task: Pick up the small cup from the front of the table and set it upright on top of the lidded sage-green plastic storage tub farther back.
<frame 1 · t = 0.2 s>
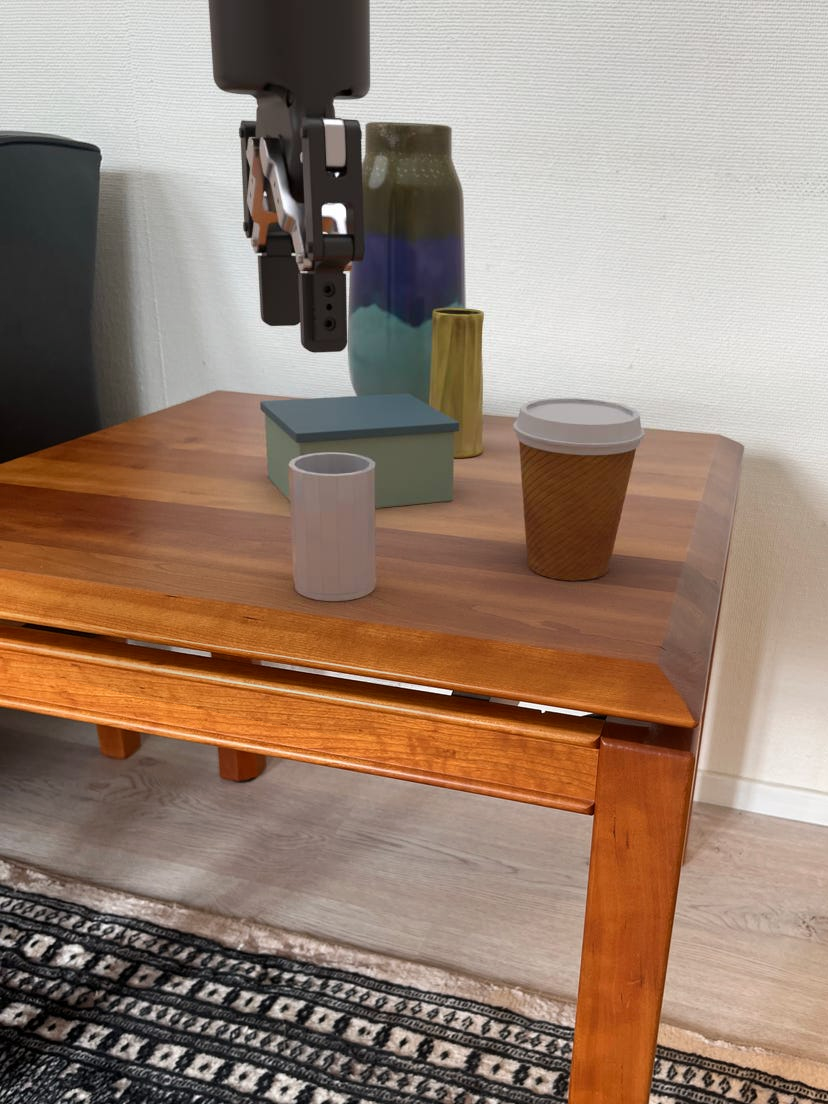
hand: (301, 337, 55), 19 cm above the table, tool pointing down, fingers open, 8 cm apart
disposable coffee cup: (567, 568, 79), on the table
vase: (454, 452, 108), on the table
cup: (335, 585, 73), on the table
container: (358, 488, 95), on the table
vase 2: (406, 416, 123), on the table
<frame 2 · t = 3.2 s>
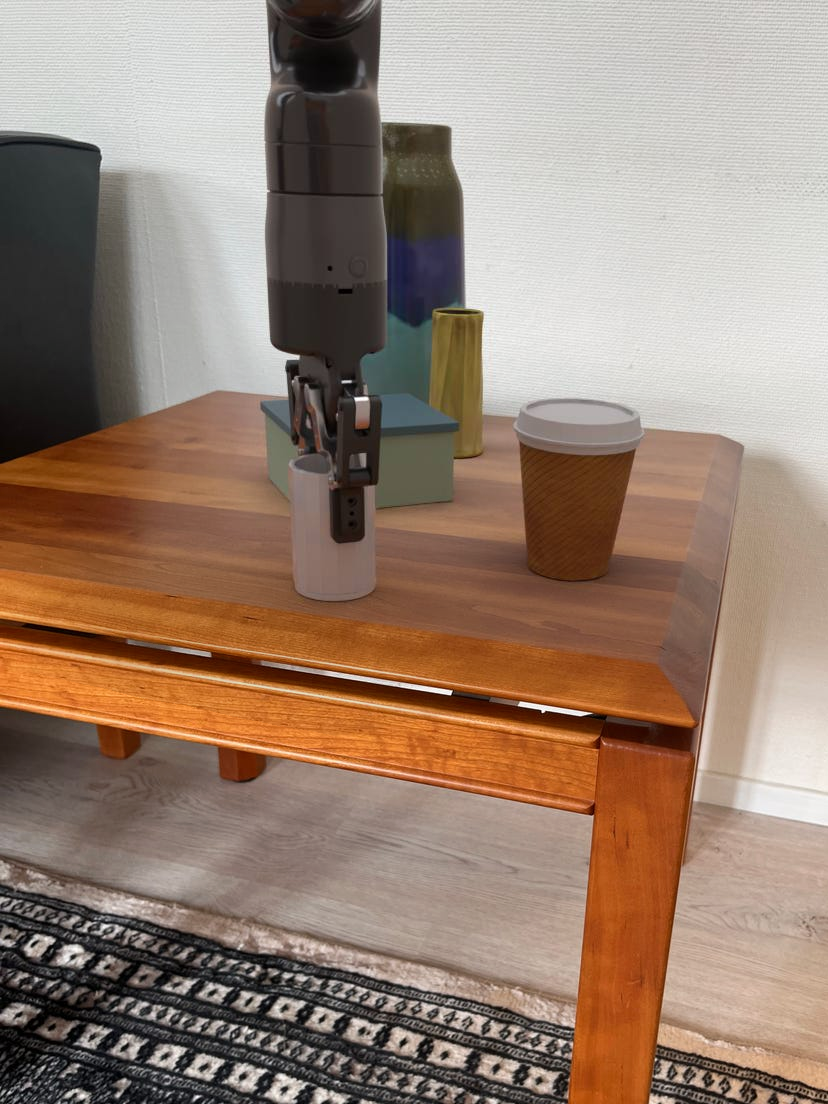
hand: (333, 525, 71), 5 cm above the table, tool pointing down, fingers closed on cup, 6 cm apart
cup: (335, 585, 73), on the table, touching gripper
everything else where it was.
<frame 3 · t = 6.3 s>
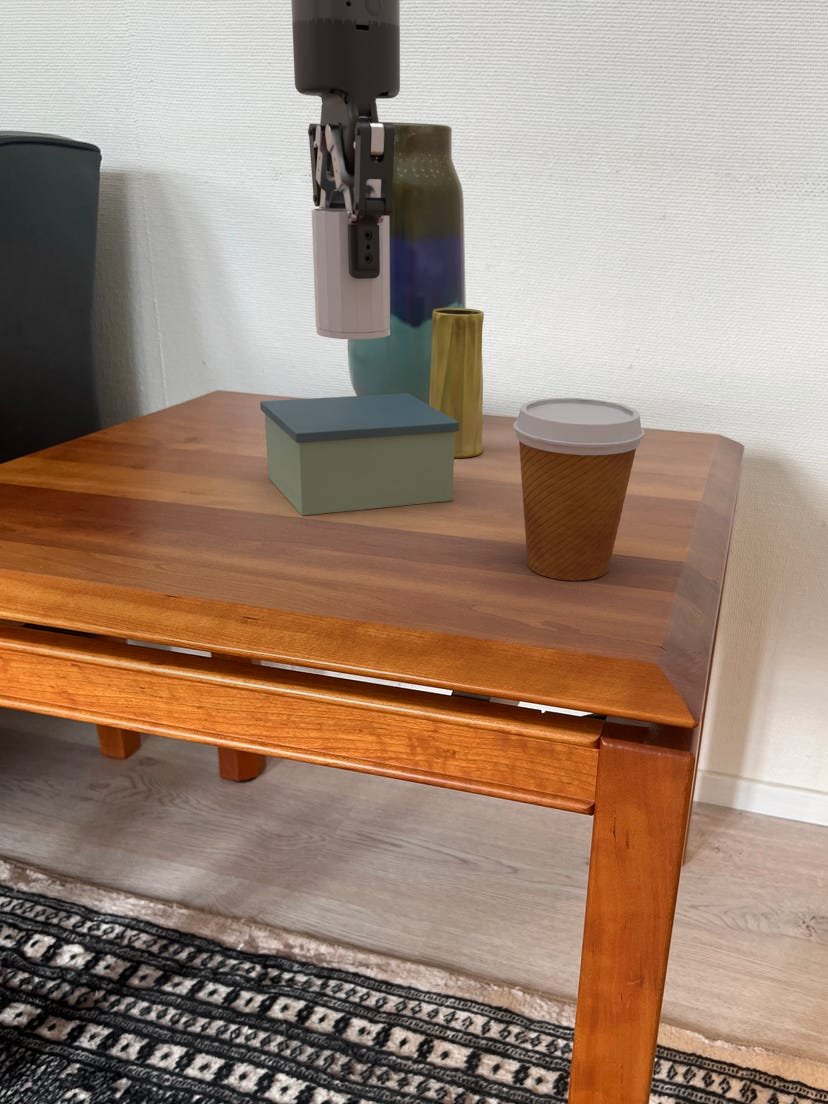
hand: (351, 272, 79), 20 cm above the table, tool pointing down, fingers closed on cup, 6 cm apart
cup: (353, 333, 81), point 15 cm above the table, touching gripper
everything else where it was.
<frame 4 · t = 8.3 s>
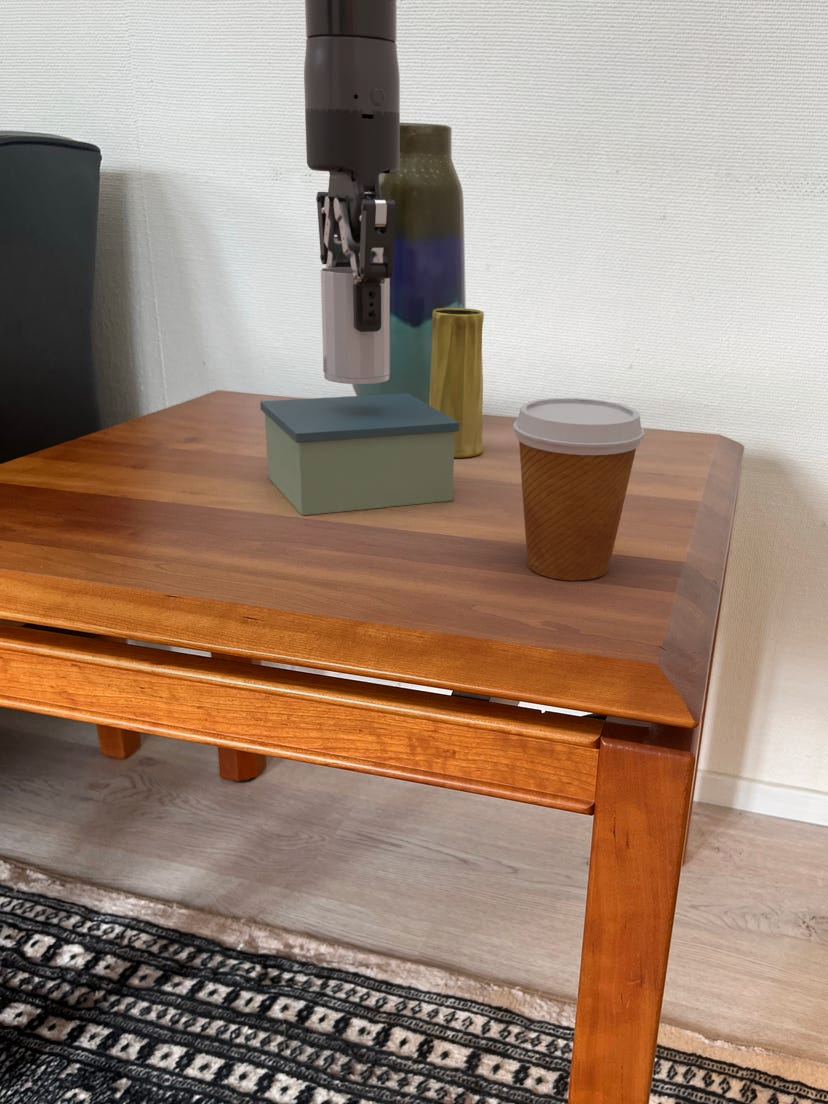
hand: (355, 324, 88), 15 cm above the table, tool pointing down, fingers closed on cup, 6 cm apart
cup: (357, 377, 90), point 10 cm above the table, touching gripper
everything else where it was.
when the fingers open (12 cm above the table, at t = 9.8 s): cup stays where it is, resting on container.
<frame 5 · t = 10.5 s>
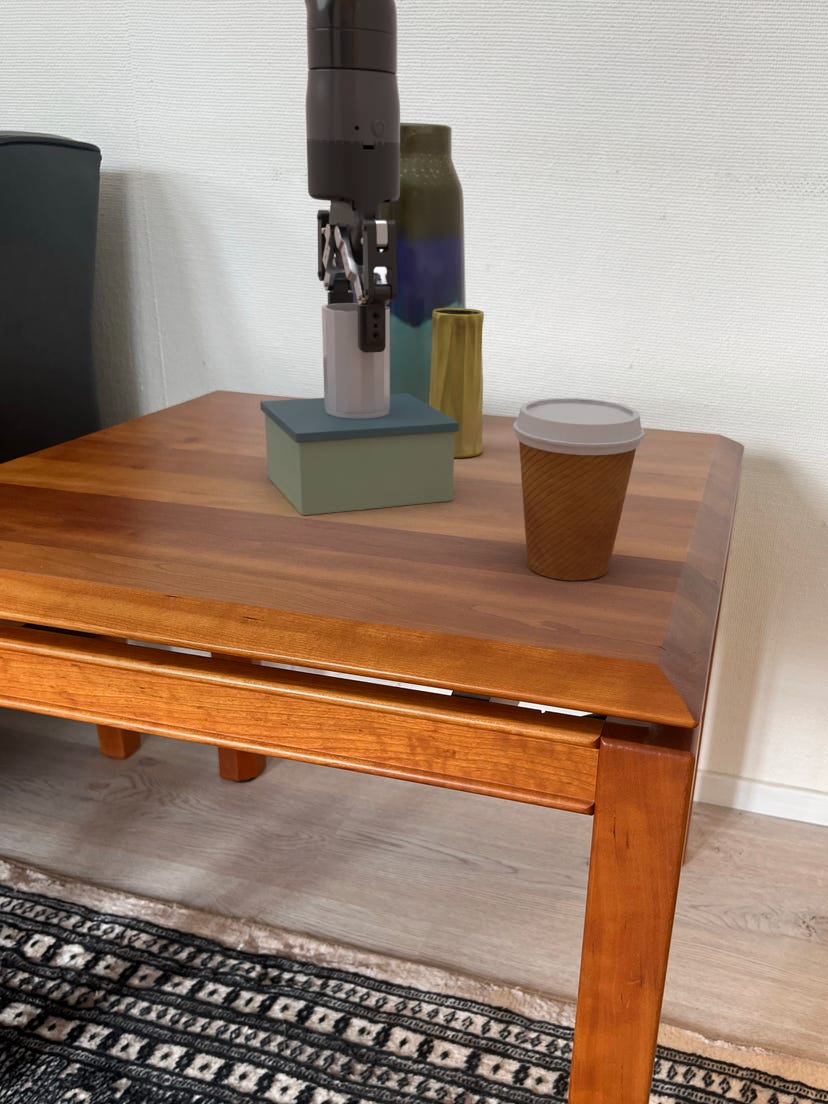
hand: (356, 343, 89), 13 cm above the table, tool pointing down, fingers open, 8 cm apart
cup: (357, 411, 92), point 7 cm above the table, touching container
everything else where it was.
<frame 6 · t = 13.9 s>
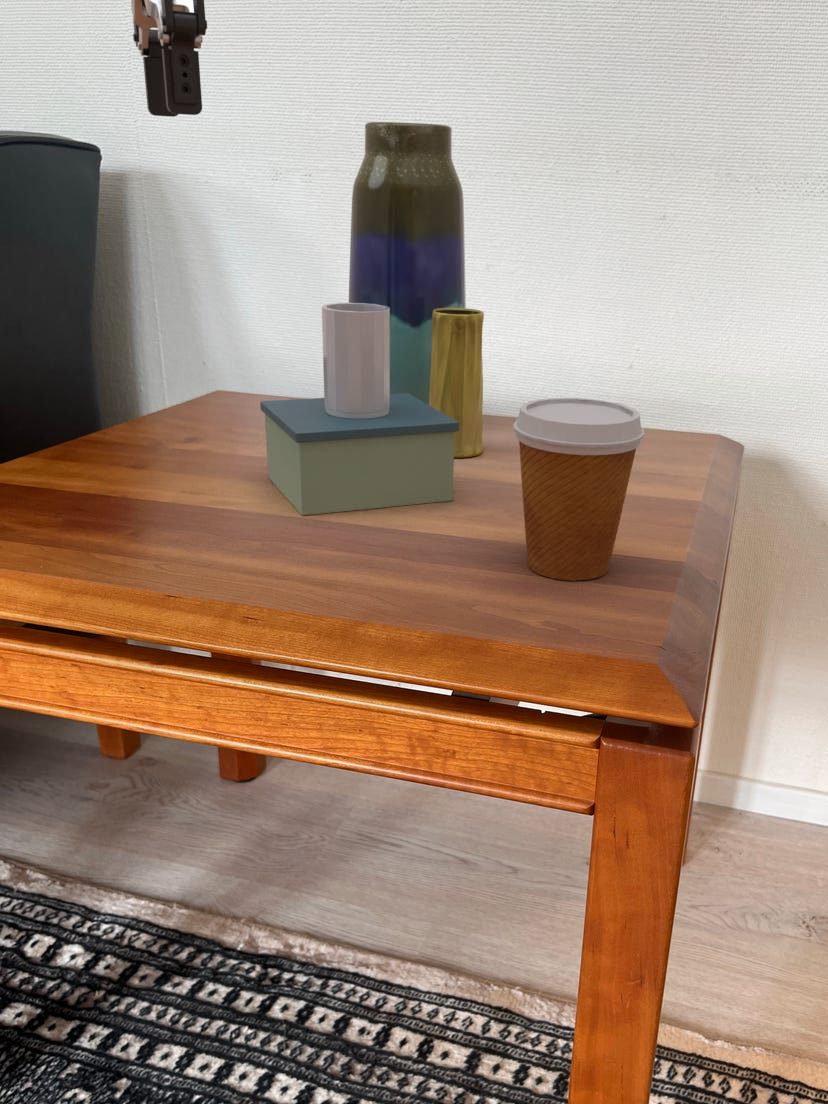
hand: (174, 115, 71), 30 cm above the table, tool pointing down, fingers open, 8 cm apart
nothing on the table moved.
at the end: cup inside the target area on the container (0.0 cm from its centre), point 7.2 cm above the container's base; cup tilted 0°; the gripper is holding nothing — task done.
